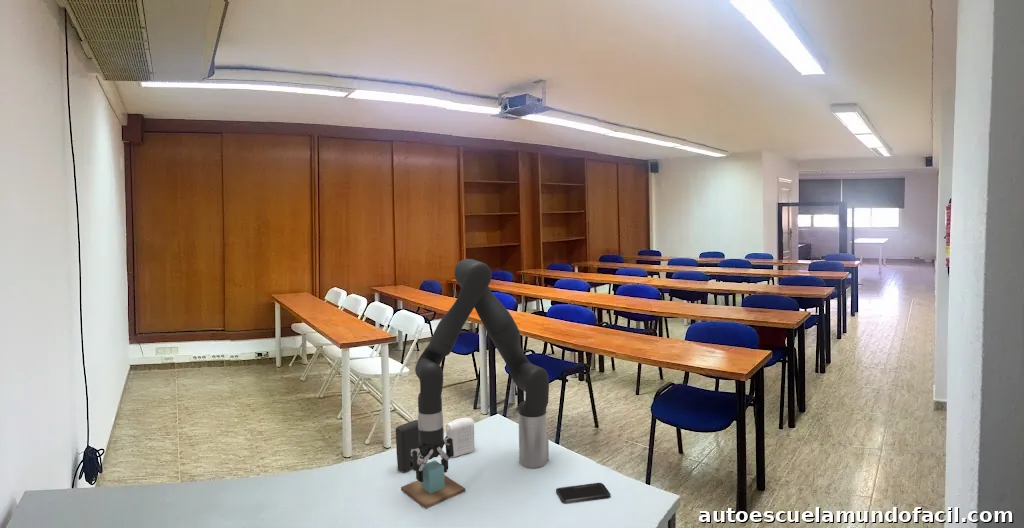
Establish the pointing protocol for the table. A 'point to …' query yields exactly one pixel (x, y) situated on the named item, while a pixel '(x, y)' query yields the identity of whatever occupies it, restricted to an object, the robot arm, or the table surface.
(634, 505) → the table surface
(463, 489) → the walnut board
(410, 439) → the card reader
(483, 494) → the table surface
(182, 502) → the table surface
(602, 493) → the phone
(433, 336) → the robot arm
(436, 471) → the teal block
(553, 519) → the table surface
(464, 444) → the photo printer
